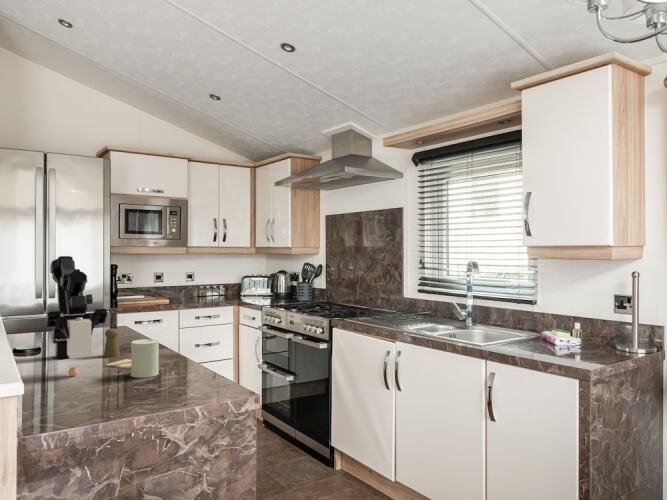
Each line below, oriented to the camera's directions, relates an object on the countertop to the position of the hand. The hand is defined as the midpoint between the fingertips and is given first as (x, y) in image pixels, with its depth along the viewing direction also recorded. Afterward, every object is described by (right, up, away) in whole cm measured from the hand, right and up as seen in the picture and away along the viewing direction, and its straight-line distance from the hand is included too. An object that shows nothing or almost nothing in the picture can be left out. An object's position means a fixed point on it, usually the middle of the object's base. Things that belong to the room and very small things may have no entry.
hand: (79, 336), depth 174 cm
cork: (-3, -13, +32) cm, 35 cm away
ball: (-2, -13, 0) cm, 14 cm away
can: (+21, -14, +4) cm, 25 cm away
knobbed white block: (-1, -7, +1) cm, 7 cm away
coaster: (+9, -13, +18) cm, 24 cm away
